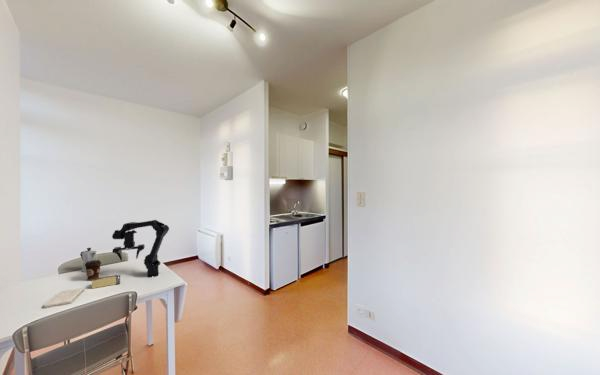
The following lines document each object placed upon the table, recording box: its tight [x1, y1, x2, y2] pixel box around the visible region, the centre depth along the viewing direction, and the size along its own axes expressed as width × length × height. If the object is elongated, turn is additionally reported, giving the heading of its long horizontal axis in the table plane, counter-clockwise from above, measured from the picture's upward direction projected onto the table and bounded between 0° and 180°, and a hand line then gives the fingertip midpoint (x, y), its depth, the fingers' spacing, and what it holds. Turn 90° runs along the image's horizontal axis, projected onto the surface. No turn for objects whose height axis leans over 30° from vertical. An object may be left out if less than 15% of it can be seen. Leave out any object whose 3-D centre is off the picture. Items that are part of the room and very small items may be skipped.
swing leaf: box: [91, 274, 121, 289], centre depth 150 cm, size 15×3×6 cm, turn 121°
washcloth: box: [43, 287, 85, 309], centre depth 133 cm, size 12×18×3 cm, turn 26°
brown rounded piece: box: [85, 259, 102, 281], centre depth 160 cm, size 9×8×13 cm
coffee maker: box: [80, 247, 97, 273], centre depth 176 cm, size 15×9×18 cm, turn 77°
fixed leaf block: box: [94, 274, 118, 280], centre depth 152 cm, size 12×4×5 cm, turn 118°
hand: (129, 259), depth 167 cm, fingers open, 9 cm apart
